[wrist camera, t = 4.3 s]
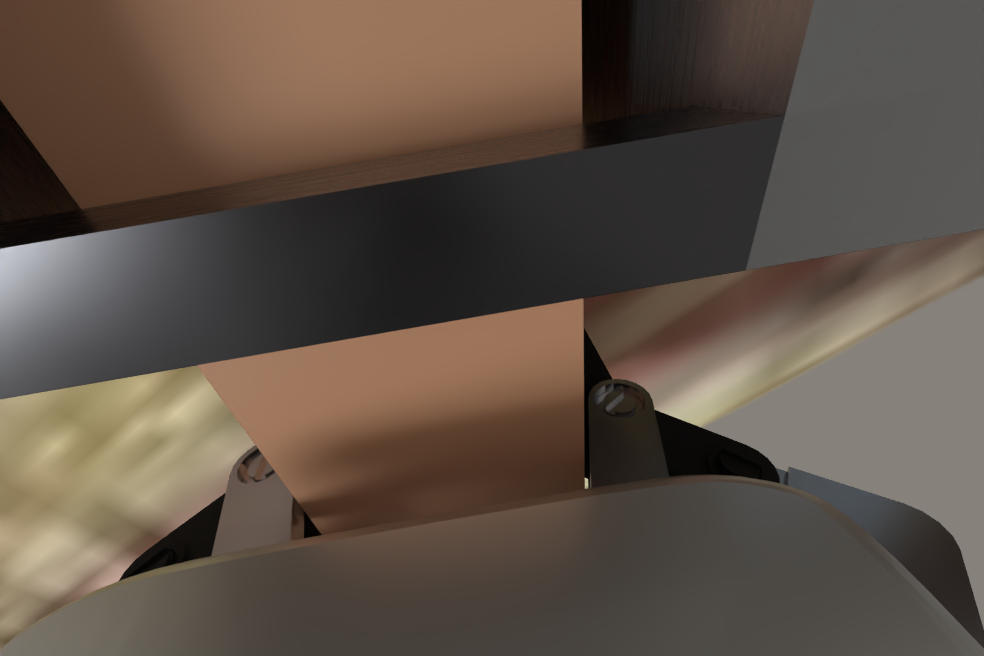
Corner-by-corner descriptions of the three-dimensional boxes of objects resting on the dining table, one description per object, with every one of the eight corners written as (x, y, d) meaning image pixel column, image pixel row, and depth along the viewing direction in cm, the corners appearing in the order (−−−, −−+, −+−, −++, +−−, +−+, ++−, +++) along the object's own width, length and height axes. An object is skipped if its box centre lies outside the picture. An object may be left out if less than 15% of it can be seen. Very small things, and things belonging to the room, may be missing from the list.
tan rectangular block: (184, -135, 6) (-718, -872, 1) (475, -182, 6) (576, -1057, 1) (396, 407, 14) (368, 597, 9) (534, 383, 14) (585, 558, 9)
